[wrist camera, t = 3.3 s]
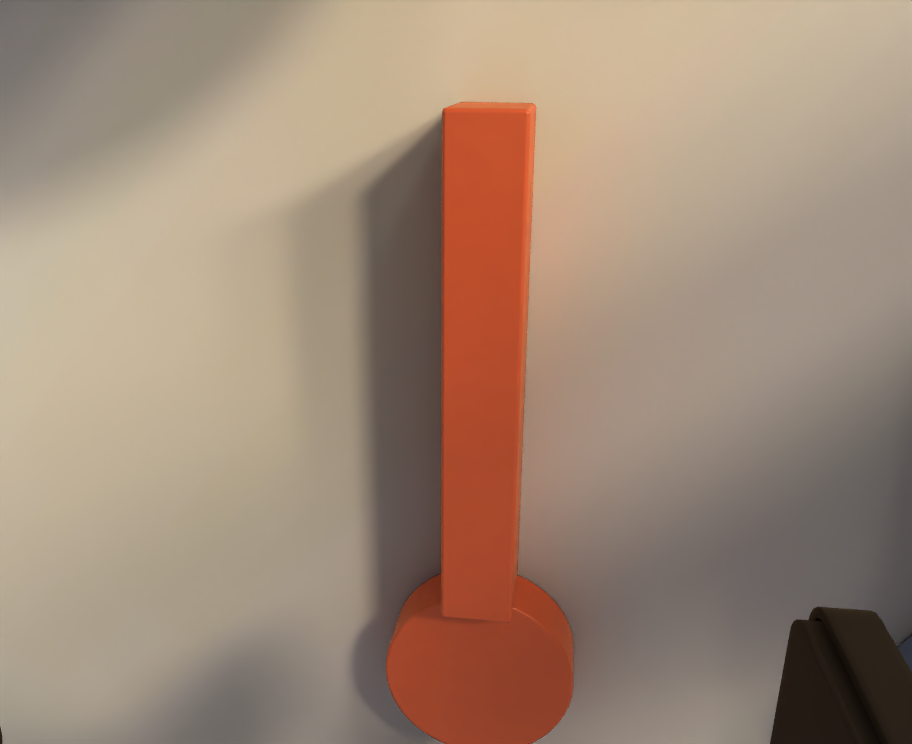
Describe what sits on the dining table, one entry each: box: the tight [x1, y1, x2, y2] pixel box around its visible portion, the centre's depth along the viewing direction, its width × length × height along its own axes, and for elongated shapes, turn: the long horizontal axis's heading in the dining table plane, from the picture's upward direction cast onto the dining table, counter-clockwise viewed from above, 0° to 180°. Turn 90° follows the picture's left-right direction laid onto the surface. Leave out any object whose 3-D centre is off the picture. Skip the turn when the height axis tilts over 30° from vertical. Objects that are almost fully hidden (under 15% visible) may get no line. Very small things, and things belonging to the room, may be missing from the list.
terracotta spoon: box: [386, 102, 573, 744], centre depth 19 cm, size 16×5×2 cm, turn 0°
